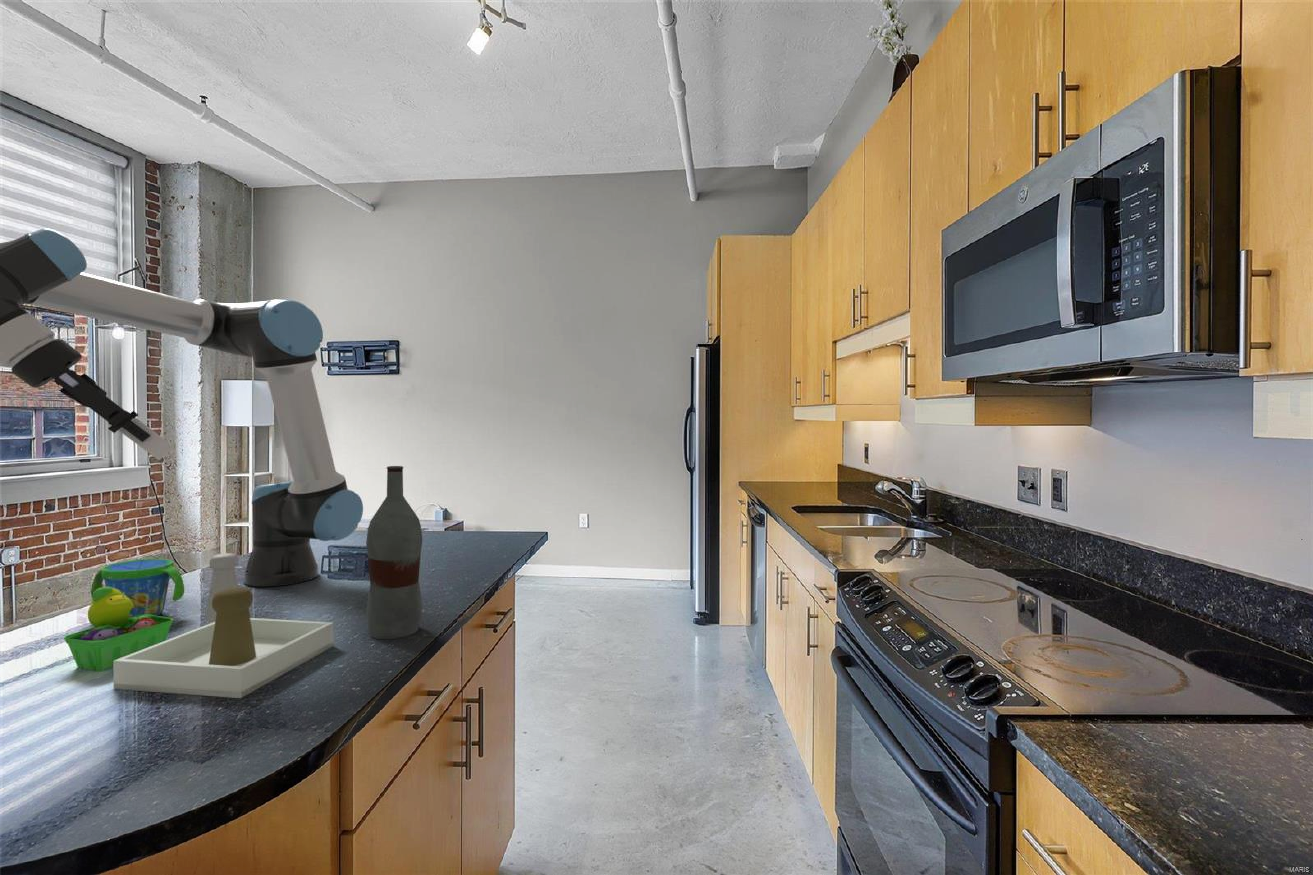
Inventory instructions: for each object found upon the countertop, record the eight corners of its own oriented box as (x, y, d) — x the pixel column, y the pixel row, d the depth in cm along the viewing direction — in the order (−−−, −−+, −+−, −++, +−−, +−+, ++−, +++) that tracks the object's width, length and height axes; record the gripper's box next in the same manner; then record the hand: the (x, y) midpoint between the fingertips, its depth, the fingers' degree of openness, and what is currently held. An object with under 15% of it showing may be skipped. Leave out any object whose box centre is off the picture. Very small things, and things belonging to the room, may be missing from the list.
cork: (219, 670, 90) (219, 596, 90) (201, 661, 93) (201, 590, 93) (263, 657, 95) (263, 587, 95) (244, 649, 98) (244, 582, 98)
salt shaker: (250, 619, 115) (250, 551, 115) (226, 629, 109) (226, 558, 109) (222, 618, 116) (222, 550, 115) (196, 628, 110) (196, 557, 110)
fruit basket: (95, 676, 89) (95, 600, 89) (55, 668, 92) (54, 594, 92) (176, 649, 100) (176, 581, 100) (138, 642, 103) (138, 576, 102)
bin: (227, 639, 105) (227, 616, 104) (333, 646, 102) (333, 622, 102) (113, 688, 85) (113, 660, 85) (240, 698, 83) (240, 669, 83)
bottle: (365, 643, 104) (366, 468, 103) (366, 627, 112) (366, 465, 111) (424, 636, 108) (424, 467, 107) (420, 620, 116) (421, 464, 115)
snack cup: (199, 610, 121) (199, 559, 120) (152, 627, 110) (152, 572, 110) (126, 607, 122) (125, 557, 121) (72, 624, 111) (71, 569, 111)
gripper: (20, 374, 97) (144, 464, 107) (-9, 363, 78) (144, 474, 88) (66, 343, 100) (181, 434, 111) (48, 327, 82) (190, 437, 92)
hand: (165, 452), depth 99 cm, fingers open, 13 cm apart
